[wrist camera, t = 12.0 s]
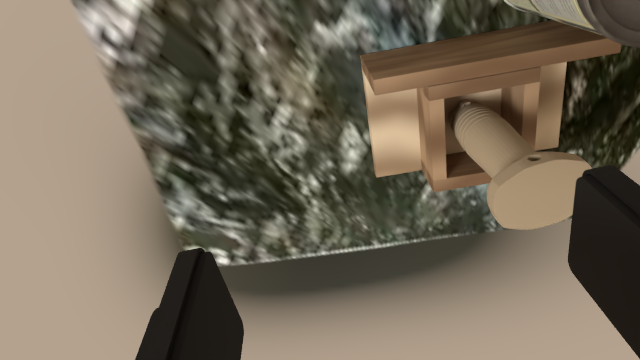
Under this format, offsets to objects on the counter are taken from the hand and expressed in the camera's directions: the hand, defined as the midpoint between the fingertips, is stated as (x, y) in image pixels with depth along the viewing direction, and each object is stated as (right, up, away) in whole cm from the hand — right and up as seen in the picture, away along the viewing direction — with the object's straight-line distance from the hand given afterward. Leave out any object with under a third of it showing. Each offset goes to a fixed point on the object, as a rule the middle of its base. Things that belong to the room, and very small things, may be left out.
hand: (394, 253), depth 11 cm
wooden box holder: (+12, +9, +30) cm, 34 cm away
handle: (+12, +8, +30) cm, 33 cm away
